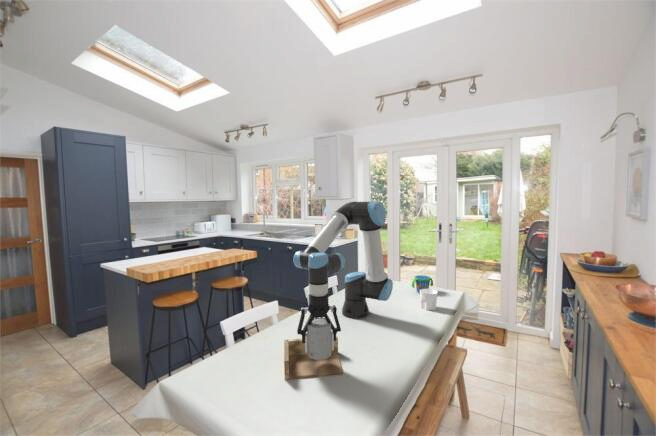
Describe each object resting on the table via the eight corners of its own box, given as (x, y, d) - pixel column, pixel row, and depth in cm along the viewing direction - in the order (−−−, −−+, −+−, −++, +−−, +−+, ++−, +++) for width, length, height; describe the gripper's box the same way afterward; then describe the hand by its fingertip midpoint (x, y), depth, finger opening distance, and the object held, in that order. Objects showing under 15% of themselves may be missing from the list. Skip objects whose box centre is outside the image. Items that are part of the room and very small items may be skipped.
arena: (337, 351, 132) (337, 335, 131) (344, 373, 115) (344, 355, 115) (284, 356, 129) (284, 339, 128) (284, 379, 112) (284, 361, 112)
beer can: (303, 351, 122) (302, 320, 121) (324, 345, 126) (324, 316, 125) (313, 362, 113) (312, 329, 113) (336, 355, 118) (335, 324, 117)
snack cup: (428, 288, 218) (428, 274, 217) (437, 293, 207) (437, 278, 207) (408, 290, 214) (408, 275, 214) (415, 295, 204) (415, 280, 203)
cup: (440, 308, 180) (441, 291, 179) (429, 312, 174) (430, 295, 173) (426, 303, 188) (426, 287, 187) (415, 307, 182) (415, 290, 182)
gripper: (345, 289, 124) (345, 342, 125) (289, 291, 121) (290, 347, 122) (348, 294, 116) (349, 352, 118) (289, 298, 113) (290, 356, 115)
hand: (319, 349), depth 120 cm, fingers closed on beer can, 9 cm apart
